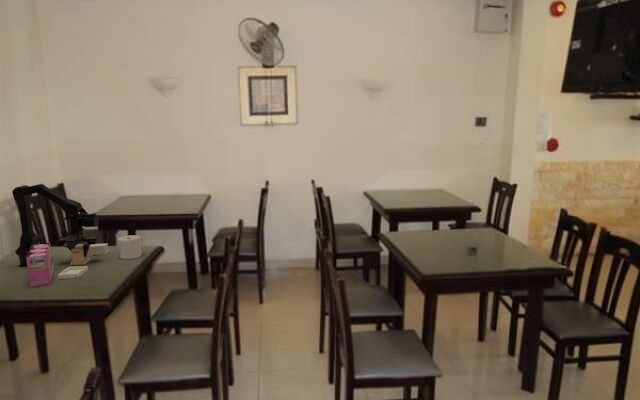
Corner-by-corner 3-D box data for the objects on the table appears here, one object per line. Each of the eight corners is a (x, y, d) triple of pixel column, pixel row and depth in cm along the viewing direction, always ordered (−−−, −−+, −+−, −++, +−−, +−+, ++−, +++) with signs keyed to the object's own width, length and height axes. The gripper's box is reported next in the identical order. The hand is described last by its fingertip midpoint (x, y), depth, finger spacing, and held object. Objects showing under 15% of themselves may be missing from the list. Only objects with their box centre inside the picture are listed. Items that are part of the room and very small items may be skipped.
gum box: (35, 270, 222) (31, 243, 219) (54, 268, 225) (50, 241, 222) (30, 287, 201) (25, 257, 198) (51, 283, 204) (46, 254, 201)
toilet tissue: (137, 259, 235) (135, 240, 233) (113, 260, 235) (111, 241, 233) (145, 253, 245) (143, 234, 243) (122, 253, 245) (120, 235, 243)
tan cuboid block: (72, 265, 228) (70, 249, 226) (79, 260, 236) (77, 245, 234) (82, 264, 228) (80, 249, 227) (88, 259, 236) (86, 244, 234)
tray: (58, 279, 209) (57, 274, 209) (69, 270, 220) (68, 266, 220) (78, 278, 210) (77, 273, 210) (88, 269, 221) (87, 265, 221)
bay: (60, 265, 228) (59, 256, 227) (78, 253, 247) (76, 244, 246) (94, 264, 229) (93, 254, 228) (108, 252, 248) (107, 243, 247)
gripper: (48, 232, 220) (53, 263, 223) (89, 230, 222) (93, 261, 225) (59, 226, 231) (64, 256, 234) (98, 225, 233) (101, 254, 236)
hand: (80, 257), depth 232 cm, fingers closed on tan cuboid block, 4 cm apart
